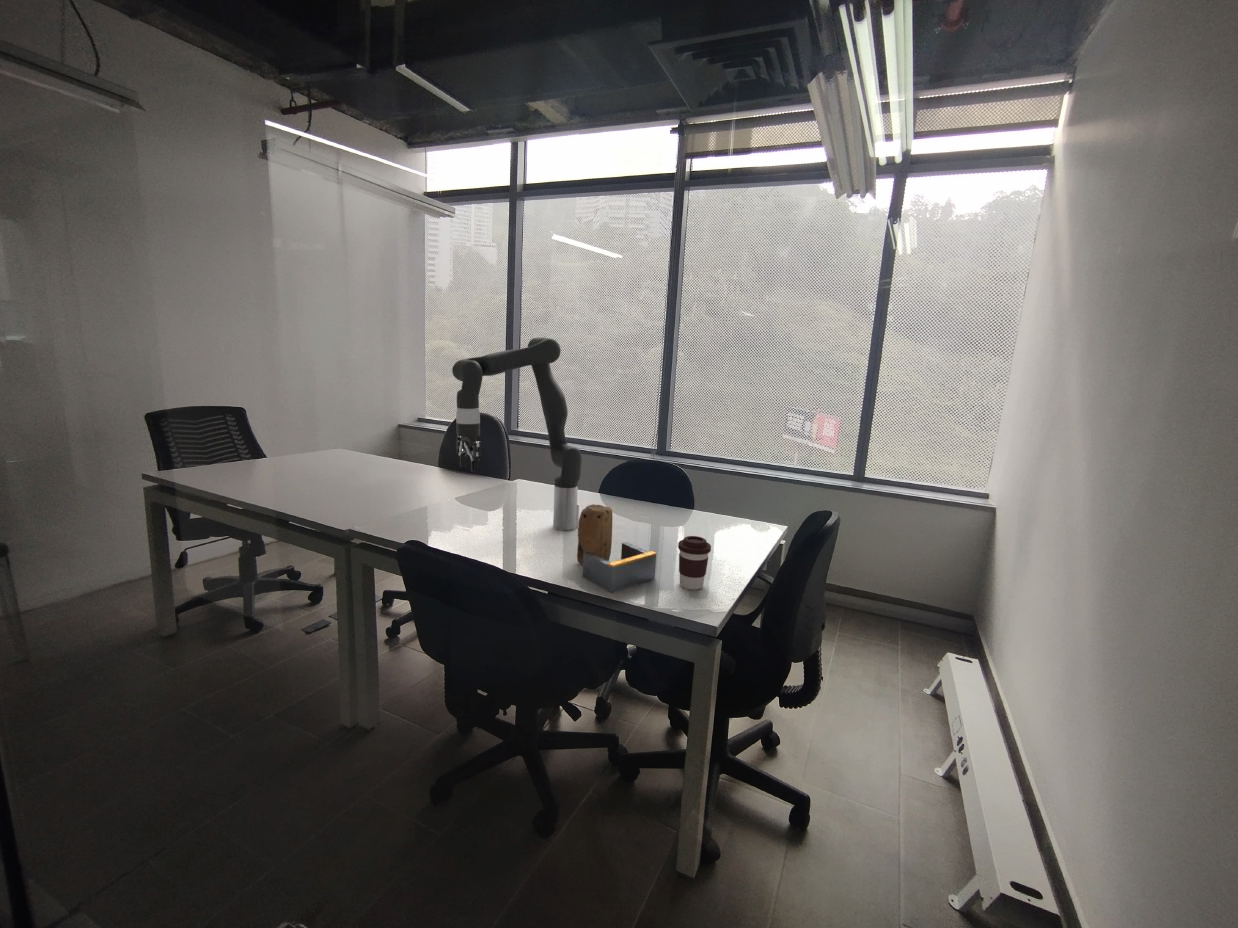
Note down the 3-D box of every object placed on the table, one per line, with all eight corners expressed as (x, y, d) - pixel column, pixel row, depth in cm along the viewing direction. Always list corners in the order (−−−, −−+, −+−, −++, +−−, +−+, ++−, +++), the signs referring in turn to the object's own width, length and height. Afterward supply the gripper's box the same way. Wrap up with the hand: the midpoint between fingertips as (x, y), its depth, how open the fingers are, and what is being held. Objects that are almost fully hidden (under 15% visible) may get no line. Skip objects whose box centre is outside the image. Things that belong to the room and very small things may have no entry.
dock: (625, 564, 178) (626, 540, 176) (654, 578, 167) (656, 553, 166) (582, 576, 166) (583, 550, 164) (611, 592, 156) (613, 565, 154)
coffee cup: (689, 576, 171) (692, 531, 168) (713, 586, 164) (718, 540, 161) (668, 583, 164) (672, 537, 161) (693, 595, 157) (697, 547, 154)
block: (612, 564, 177) (615, 506, 174) (603, 571, 171) (606, 512, 167) (583, 557, 181) (585, 501, 178) (573, 565, 175) (575, 506, 171)
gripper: (488, 423, 172) (489, 472, 176) (469, 418, 183) (470, 464, 186) (467, 424, 167) (467, 474, 171) (448, 419, 178) (449, 466, 181)
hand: (469, 469), depth 178 cm, fingers open, 8 cm apart
